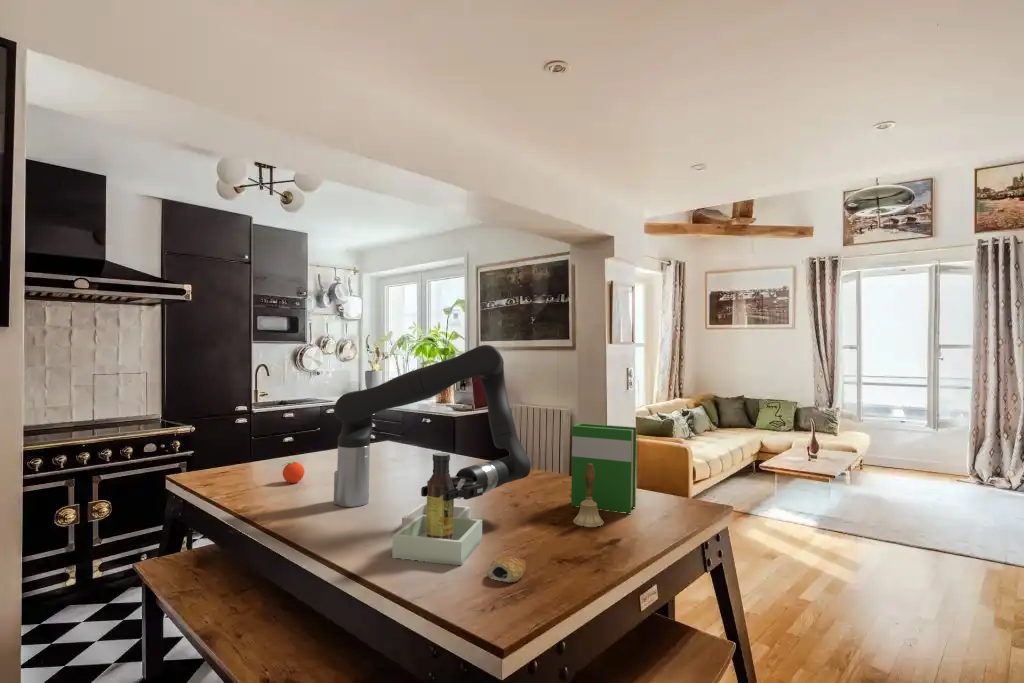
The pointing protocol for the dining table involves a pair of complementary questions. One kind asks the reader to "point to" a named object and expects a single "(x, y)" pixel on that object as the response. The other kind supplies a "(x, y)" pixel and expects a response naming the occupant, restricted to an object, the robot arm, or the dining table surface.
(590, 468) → the hand bell
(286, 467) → the clementine
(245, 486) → the dining table surface
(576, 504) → the hardback book
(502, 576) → the pastry
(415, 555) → the sage bin
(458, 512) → the off-white frame
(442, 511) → the sauce bottle
